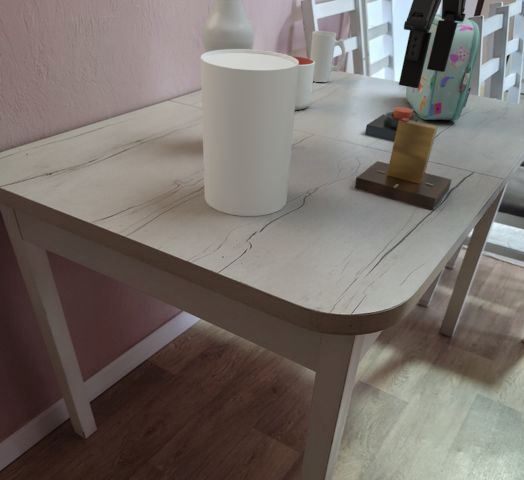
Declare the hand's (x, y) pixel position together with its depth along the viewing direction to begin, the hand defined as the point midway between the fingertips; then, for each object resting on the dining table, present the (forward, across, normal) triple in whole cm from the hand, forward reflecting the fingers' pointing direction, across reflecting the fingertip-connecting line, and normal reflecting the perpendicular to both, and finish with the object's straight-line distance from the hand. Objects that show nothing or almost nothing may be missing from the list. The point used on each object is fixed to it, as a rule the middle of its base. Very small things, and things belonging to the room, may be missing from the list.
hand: (423, 78), depth 73 cm
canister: (+18, +18, -20) cm, 32 cm away
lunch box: (+18, -55, -10) cm, 59 cm away
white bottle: (+18, 0, -36) cm, 40 cm away
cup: (+18, -35, -40) cm, 57 cm away
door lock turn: (+16, -2, 0) cm, 16 cm away
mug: (+18, -66, -45) cm, 82 cm away
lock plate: (+18, -2, 0) cm, 18 cm away
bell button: (+14, -31, -10) cm, 36 cm away
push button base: (+18, -31, -10) cm, 38 cm away
